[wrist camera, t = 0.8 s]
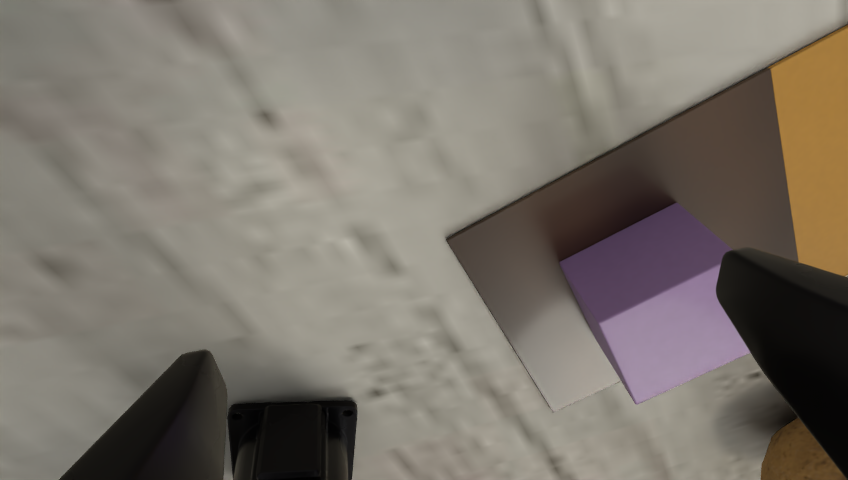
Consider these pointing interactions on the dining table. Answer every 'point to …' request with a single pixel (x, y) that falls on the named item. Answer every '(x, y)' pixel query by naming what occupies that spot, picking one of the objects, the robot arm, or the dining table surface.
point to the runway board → (627, 225)
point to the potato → (797, 456)
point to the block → (656, 301)
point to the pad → (816, 147)
